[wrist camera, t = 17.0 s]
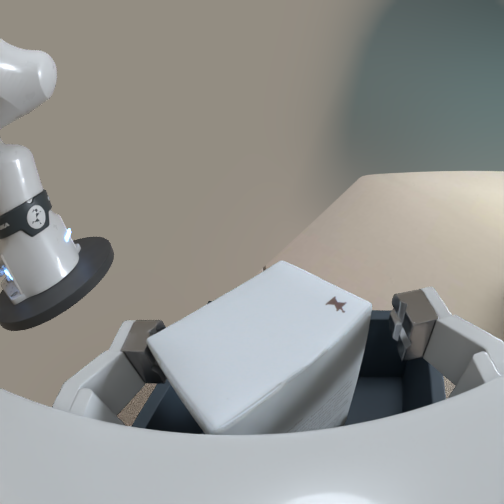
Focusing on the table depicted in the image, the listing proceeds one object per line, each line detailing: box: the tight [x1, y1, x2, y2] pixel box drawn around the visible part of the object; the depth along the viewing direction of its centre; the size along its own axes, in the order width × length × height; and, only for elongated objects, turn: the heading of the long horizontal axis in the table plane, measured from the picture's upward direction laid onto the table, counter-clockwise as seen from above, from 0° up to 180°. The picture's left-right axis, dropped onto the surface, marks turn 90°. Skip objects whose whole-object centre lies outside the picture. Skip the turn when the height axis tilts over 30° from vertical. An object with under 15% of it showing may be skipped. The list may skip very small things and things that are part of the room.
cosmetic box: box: [147, 261, 372, 435], centre depth 11 cm, size 6×4×12 cm
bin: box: [131, 301, 446, 434], centre depth 13 cm, size 15×15×7 cm
